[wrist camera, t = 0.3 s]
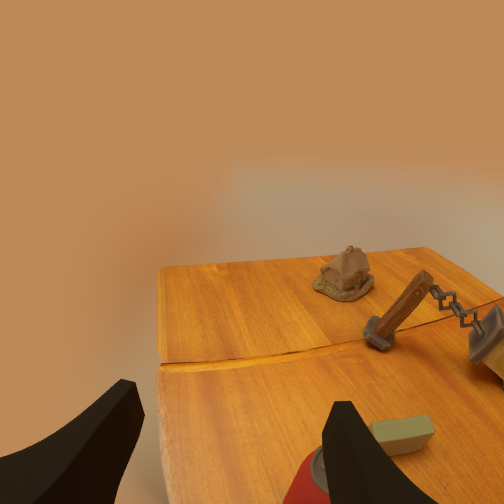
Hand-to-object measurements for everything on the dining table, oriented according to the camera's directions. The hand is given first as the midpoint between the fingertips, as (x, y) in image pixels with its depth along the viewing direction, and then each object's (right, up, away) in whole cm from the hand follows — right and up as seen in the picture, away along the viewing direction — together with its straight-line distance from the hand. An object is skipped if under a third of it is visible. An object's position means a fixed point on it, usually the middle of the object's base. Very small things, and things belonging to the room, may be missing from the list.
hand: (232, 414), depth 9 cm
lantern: (+35, -14, +31) cm, 48 cm away
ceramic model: (+21, -2, +55) cm, 59 cm away
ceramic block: (+18, -18, +17) cm, 31 cm away
